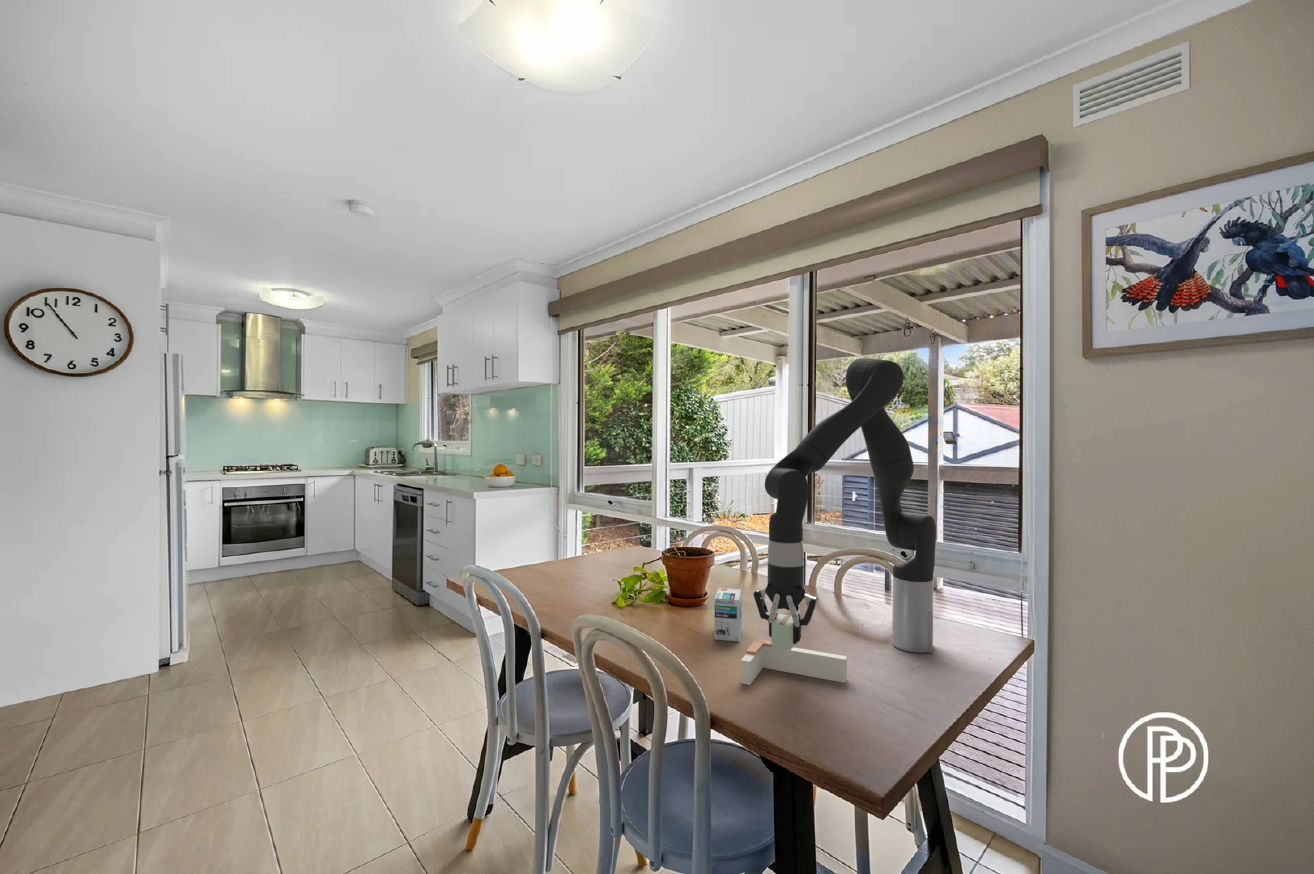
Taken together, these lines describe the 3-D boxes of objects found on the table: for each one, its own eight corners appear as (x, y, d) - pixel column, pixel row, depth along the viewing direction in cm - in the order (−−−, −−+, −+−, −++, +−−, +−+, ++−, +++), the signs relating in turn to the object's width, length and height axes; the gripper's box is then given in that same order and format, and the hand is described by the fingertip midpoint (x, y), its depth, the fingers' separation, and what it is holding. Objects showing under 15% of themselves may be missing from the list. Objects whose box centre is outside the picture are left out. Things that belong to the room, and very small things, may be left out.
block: (790, 650, 119) (790, 625, 119) (771, 646, 120) (771, 622, 120) (797, 639, 125) (797, 615, 125) (779, 636, 127) (779, 613, 127)
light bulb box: (740, 642, 145) (740, 600, 145) (713, 640, 146) (713, 598, 146) (742, 628, 156) (742, 588, 155) (717, 626, 157) (717, 587, 157)
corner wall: (847, 679, 124) (847, 653, 123) (838, 703, 113) (838, 674, 113) (756, 662, 132) (756, 638, 132) (740, 683, 122) (740, 656, 121)
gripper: (748, 561, 122) (747, 641, 122) (816, 568, 116) (815, 652, 116) (757, 554, 129) (757, 630, 129) (822, 561, 123) (822, 640, 123)
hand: (785, 640), depth 123 cm, fingers closed on block, 4 cm apart
